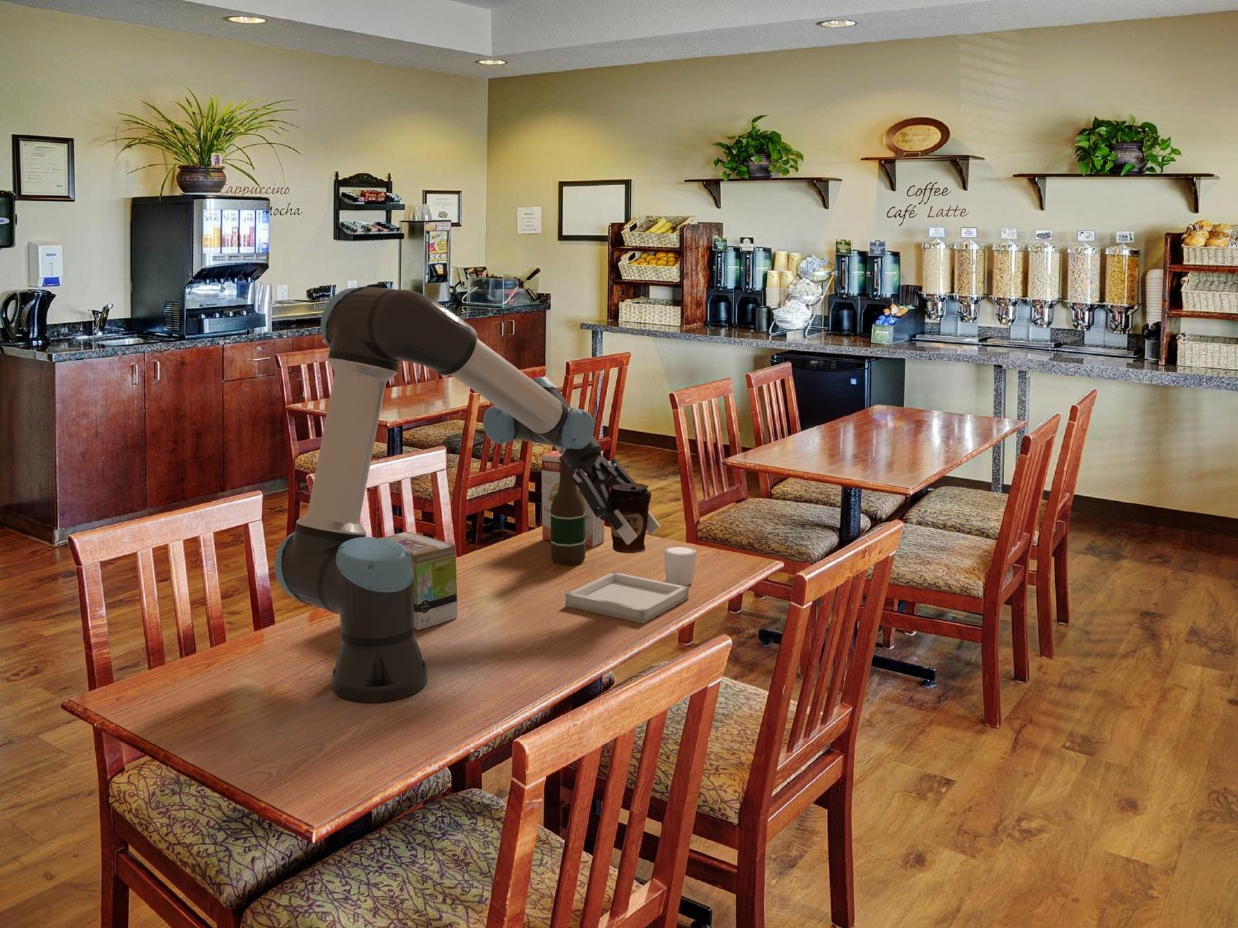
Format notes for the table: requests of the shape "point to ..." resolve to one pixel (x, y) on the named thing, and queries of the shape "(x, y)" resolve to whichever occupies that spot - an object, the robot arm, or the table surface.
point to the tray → (627, 597)
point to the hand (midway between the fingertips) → (644, 535)
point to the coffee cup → (631, 514)
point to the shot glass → (679, 564)
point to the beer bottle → (567, 521)
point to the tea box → (431, 578)
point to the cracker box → (550, 490)
